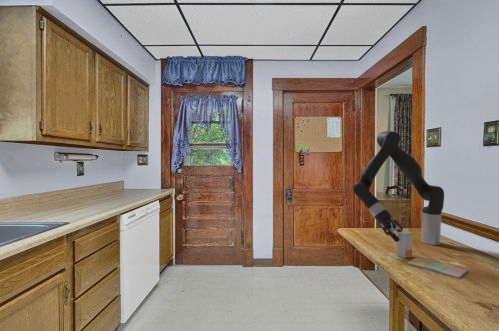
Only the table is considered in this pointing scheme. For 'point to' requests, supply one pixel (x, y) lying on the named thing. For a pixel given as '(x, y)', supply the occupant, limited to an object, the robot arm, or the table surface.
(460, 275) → the multicoloured flat board
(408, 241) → the skincare box
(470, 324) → the table surface
